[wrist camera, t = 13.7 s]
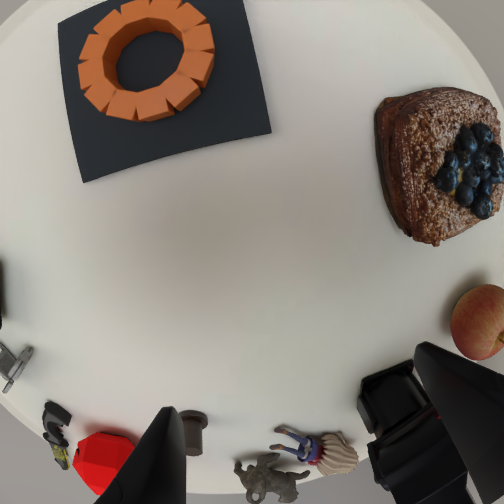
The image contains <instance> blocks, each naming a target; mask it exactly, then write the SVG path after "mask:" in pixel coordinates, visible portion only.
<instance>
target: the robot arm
mask: <svg viewBox="0 0 504 504" xmlns="http://www.w3.org/2000/svg"><path fill="white" fill-rule="evenodd" d="M414 366H415V368H416V371H417V373H418V375H419V377H420V379H421V382H422V384H423V386H424V388H425V390H424V388H423V387H422V385H421V384H420V382H419V381H418V380H417V378H416V377H415V375H414V374H413V373H412V372H413V368H414ZM357 409H358V412H359V414H360V416H361V418H362V420H363V422H364V424H365V426H366V428H367V430H368V433H370V434H372V433H374V434H375V436H376V438H377V439H376V440H375V441H373V442H370V443H368V444H367V447H368V454H369V458H370V461H371V464H372V468H373V472H374V480H375V482H376V483H377V484H381V486H382V487H383V488H384V489H385V490H386V491H391V493H392V495H393V497H394V499H395V501H396V504H476V503H475V501H474V499H473V497H472V495H471V494H470V492H469V490H468V488H467V486H466V484H467V474H468V471H469V474H470V476H471V478H472V480H473V482H474V485H475V487H476V489H477V491H478V493H479V496H480V498H481V500H482V503H483V504H491V503H493V502H494V501H496V500H497V499H499V498H500V497H501V496H503V495H504V375H502V374H499V373H497V372H495V371H493V370H491V369H488V368H486V367H484V366H481V365H479V364H477V363H475V362H472V361H470V360H468V359H466V358H463V357H461V356H459V355H456V354H454V353H452V352H450V351H447V350H445V349H443V348H441V347H438V346H436V345H434V344H432V343H430V342H427V341H425V342H422V343H420V344H418V345H417V346H416V350H415V354H414V359H413V360H409V361H407V362H405V363H402V364H400V365H397V366H395V367H393V368H390V369H388V370H385V371H383V372H380V373H377V374H375V375H372V376H369V377H367V378H364V379H363V380H362V382H361V389H360V394H359V396H358V403H357ZM439 416H440V418H439V419H438V417H439ZM94 504H186V451H185V441H184V430H183V422H182V419H181V417H180V416H179V414H178V413H177V411H176V409H175V408H174V407H173V406H169V407H163V408H161V410H160V411H159V412H158V414H157V415H156V417H155V418H154V420H153V421H152V423H151V424H150V426H149V427H148V429H147V430H146V432H145V433H144V435H143V436H142V438H141V439H140V441H139V442H138V443H137V445H136V446H135V448H134V449H133V451H132V452H131V454H130V455H129V457H128V458H127V460H126V461H125V462H124V464H123V465H122V467H121V468H120V470H119V471H118V473H117V474H116V477H114V478H113V480H112V481H111V483H110V484H109V485H108V487H107V488H106V489H105V491H104V492H103V493H102V495H101V496H100V497H99V498H98V499H97V501H96V502H95V503H94Z"/></svg>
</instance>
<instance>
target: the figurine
mask: <svg viewBox="0 0 504 504" xmlns="http://www.w3.org/2000/svg"><path fill="white" fill-rule="evenodd" d="M274 431H275V432H277V433H283V434H286V435H288V436H290V437H292V438H294V439H295V440H297V441H298V442H299V443H300V445H299V448H298V450H296V449H293V448H289V447H285V446H283V445H282V444H276V445H271V446H270V447H269V448H270V449H271V450H276V449H281V450H285V451H288V452H290V453H293V454H295V455H297V457H298V460H300V461H301V462H307V461H308V464H310V465H316V466H317V469H318V470H319V471H320V472H321V473H322V474H323V475H326V476H327V475H330V474H334V473H337V474H346V473H350V472H351V471H352V470H354V469H355V466H357V462H358V457H359V456H358V455H357V452H356V451H355V450H354V448H353V447H351V446H349V445H347V444H346V442H345V440H344V437H343V435H342V434H340V433H337V434H339V435H340V436H341V439H342V442H343V443H342V442H340V440H339V439H338V437H336V436H335V435H332V434H328V435H325V436H323V437H322V438H321V439H322V440H326V441H325V442H323V443H326V444H327V445H325V446H323V445H318V443H317V442H316V441H314V440H313V439H312V438H310V437H309V436H307V437H305V438H302V437H300V436H298V435H296V434H293V433H291V432H288V431H287V430H285V429H281V428H275V429H274ZM345 445H346V446H345Z"/></svg>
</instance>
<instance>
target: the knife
mask: <svg viewBox="0 0 504 504" xmlns="http://www.w3.org/2000/svg"><path fill="white" fill-rule="evenodd" d="M44 406H45V410H44V412H43V416H42V420H43V426H44V428H45V430H46V431H47V432H45V433H43V437H44V439H45V440H46V441H48V442H49V444H50V445H51V448H52V451H53V453H54V456H55V460H56V462H57V463H58V464H60V466H61V467H62V469H63V470H68V469H69V467H70V466H69V462H68V459H67V456H66V453H65V449H66V448H65V447H68V446H69V444H68V442H67V441H66V440H65V439H63V437H64V435H63V434H62V433H60V432H59V431H58V430H57V428H56V425H58V426H61V427H63V425H66V426H69V423H70V420H71V415H70V414H69V413H68V412H66V411H65V410H64V409H63V408H61V407H60V406H58V405H57V404H55V403H53V402H46V403H45V405H44Z"/></svg>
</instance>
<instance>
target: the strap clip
mask: <svg viewBox="0 0 504 504" xmlns="http://www.w3.org/2000/svg"><path fill="white" fill-rule="evenodd" d="M0 348H1V349H2V351H1V352H0V375H1V376H2V377H3V378H4V379H5V380H7V381H8V380H9V381H8V383H7V384H6V386H5V388H4V390H3V391H2V392H3V393H4V394H5V393H7V392H8V391H9V389H10V388H11V386H12V385H13V383H14V381H16V379H17V378H18V377H19V375H20V374H21V372H22V370H23V369H24V367H25V365H26V364H27V362H28V360H29V359H30V357H31V356H32V353H33V351H32V350H31V349H30V348H29V347H27V348H25V349H24V350H23V352H22V353H21V355H20V356H19V357H18V359H17V361H16V360H15V359H14V357H13V356H12V355H11V354H10V353H9V351H8V350H7V349H6V348H5V347H4V346H3V345H2V344H1V343H0Z"/></svg>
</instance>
